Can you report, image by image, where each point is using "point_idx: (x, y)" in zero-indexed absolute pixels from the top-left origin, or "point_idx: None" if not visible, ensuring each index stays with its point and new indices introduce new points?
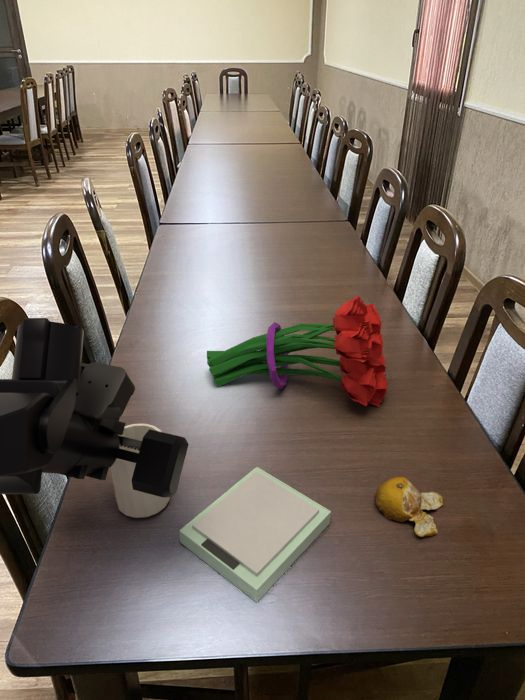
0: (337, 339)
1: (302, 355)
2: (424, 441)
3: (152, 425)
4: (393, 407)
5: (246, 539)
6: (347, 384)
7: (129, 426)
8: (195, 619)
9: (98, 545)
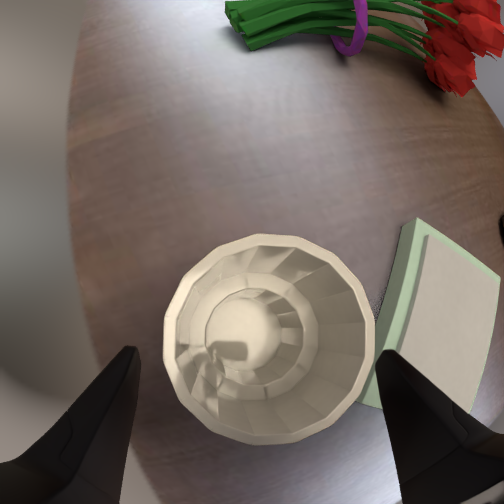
0: (472, 21)
1: (376, 17)
2: (491, 142)
3: (295, 237)
4: (453, 94)
5: (454, 375)
6: (451, 71)
7: (210, 266)
8: (396, 474)
9: (214, 446)
